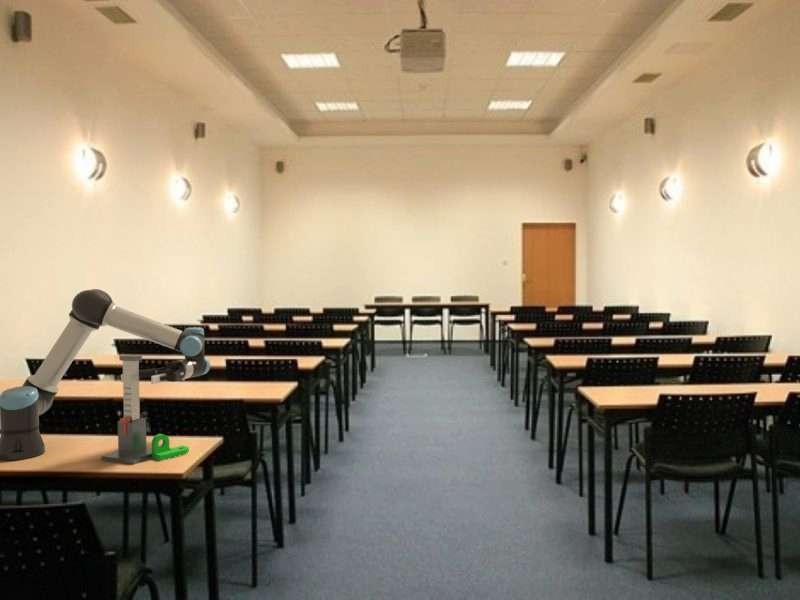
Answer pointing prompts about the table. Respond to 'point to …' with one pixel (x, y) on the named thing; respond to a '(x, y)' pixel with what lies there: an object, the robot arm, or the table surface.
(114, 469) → the table surface
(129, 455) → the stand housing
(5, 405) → the robot arm
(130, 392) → the column
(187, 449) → the mechanical part
